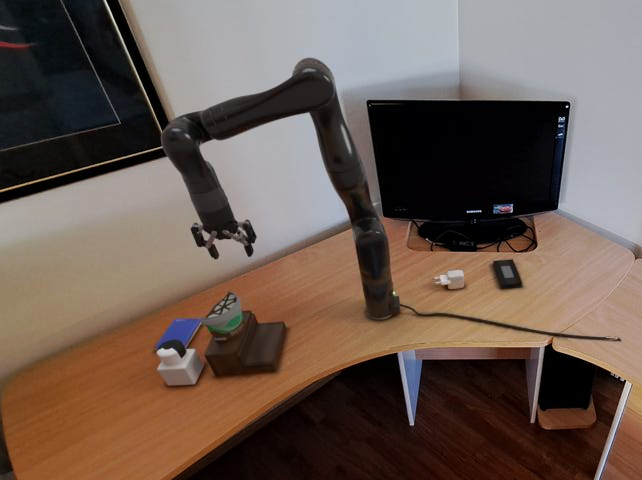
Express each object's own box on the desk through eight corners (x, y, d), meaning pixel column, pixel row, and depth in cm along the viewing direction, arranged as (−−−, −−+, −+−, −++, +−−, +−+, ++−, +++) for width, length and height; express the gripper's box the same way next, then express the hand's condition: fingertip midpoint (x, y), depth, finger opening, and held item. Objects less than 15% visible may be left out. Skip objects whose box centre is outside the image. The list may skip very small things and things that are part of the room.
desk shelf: (286, 329, 138) (279, 308, 132) (275, 371, 126) (266, 350, 120) (232, 333, 136) (222, 312, 130) (215, 376, 124) (203, 355, 118)
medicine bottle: (178, 365, 126) (160, 336, 118) (205, 364, 127) (188, 335, 119) (167, 386, 121) (147, 357, 113) (195, 385, 121) (176, 355, 113)
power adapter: (433, 292, 154) (432, 279, 150) (431, 284, 157) (430, 271, 154) (464, 289, 156) (465, 276, 152) (462, 280, 159) (462, 267, 156)
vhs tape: (512, 263, 168) (512, 259, 167) (521, 287, 158) (522, 282, 156) (493, 265, 167) (493, 260, 166) (501, 289, 157) (501, 284, 155)
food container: (233, 349, 120) (220, 322, 113) (212, 345, 120) (198, 319, 114) (259, 318, 129) (248, 292, 122) (239, 315, 130) (228, 289, 123)
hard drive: (174, 318, 138) (153, 347, 129) (201, 318, 138) (182, 347, 129) (176, 321, 139) (156, 351, 130) (203, 321, 139) (184, 351, 130)
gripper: (174, 213, 106) (201, 267, 116) (238, 209, 108) (258, 262, 118) (185, 197, 111) (210, 250, 122) (245, 194, 113) (264, 246, 124)
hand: (233, 256), depth 120 cm, fingers open, 8 cm apart
